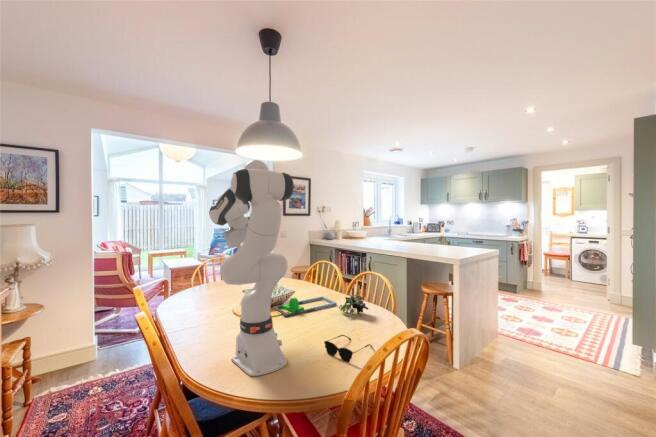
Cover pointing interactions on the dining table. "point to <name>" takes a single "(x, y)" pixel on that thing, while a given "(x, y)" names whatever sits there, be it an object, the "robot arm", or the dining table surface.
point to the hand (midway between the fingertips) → (250, 248)
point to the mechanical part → (293, 305)
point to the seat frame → (292, 312)
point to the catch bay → (321, 305)
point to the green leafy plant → (353, 304)
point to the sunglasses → (340, 350)
